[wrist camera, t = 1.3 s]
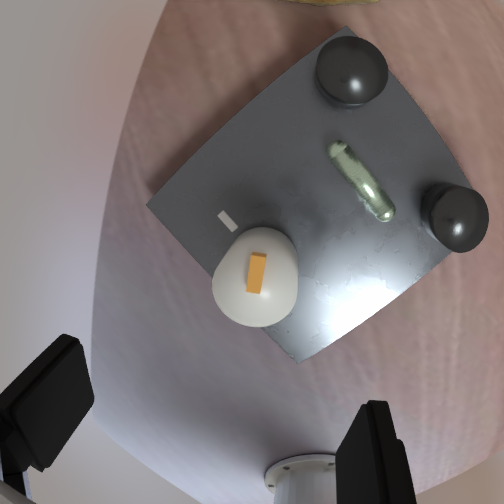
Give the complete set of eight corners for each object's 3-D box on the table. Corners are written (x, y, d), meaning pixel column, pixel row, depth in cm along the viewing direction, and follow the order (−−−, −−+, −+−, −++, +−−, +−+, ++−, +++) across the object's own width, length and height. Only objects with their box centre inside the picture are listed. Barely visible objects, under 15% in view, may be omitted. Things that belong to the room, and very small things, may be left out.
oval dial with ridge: (290, 297, 24) (288, 338, 19) (225, 285, 24) (206, 323, 19) (303, 233, 22) (305, 260, 17) (233, 221, 23) (213, 244, 17)
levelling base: (476, 213, 22) (507, 228, 17) (298, 351, 28) (297, 387, 23) (342, 34, 19) (352, 9, 14) (156, 200, 25) (126, 212, 21)
